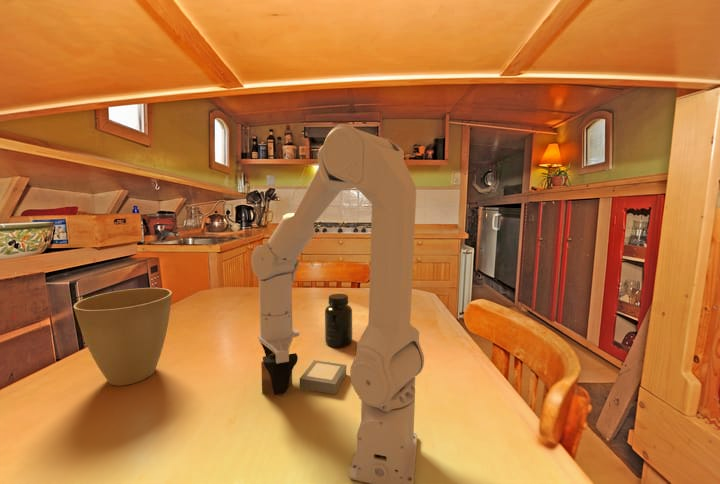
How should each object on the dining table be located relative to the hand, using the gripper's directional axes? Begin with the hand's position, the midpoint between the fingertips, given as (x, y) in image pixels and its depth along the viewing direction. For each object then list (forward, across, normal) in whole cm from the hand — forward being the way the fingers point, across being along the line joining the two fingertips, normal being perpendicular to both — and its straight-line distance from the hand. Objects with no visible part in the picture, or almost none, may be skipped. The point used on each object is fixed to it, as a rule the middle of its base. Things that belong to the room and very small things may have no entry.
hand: (277, 381), depth 56 cm
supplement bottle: (+2, +14, -17) cm, 22 cm away
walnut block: (+2, 0, 0) cm, 2 cm away
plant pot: (+2, +15, +26) cm, 30 cm away
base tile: (+1, -1, -9) cm, 9 cm away
